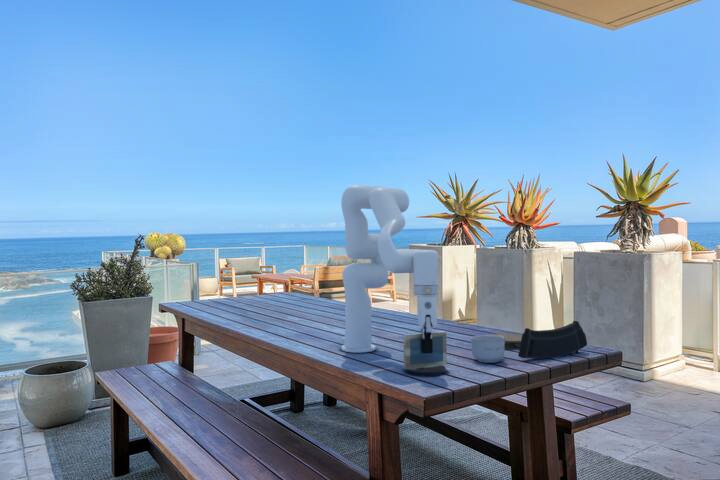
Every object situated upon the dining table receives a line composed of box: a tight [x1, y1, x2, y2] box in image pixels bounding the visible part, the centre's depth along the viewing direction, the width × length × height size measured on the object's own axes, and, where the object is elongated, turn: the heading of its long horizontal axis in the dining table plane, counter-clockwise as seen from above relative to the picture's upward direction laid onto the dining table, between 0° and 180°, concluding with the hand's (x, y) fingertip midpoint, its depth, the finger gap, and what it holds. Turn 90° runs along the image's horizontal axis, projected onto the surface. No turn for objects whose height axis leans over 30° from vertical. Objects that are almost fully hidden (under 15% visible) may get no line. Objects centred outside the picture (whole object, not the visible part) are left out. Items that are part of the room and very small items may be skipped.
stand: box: [405, 365, 447, 377], centre depth 151 cm, size 12×12×1 cm
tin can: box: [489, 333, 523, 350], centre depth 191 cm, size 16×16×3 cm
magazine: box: [517, 320, 588, 360], centre depth 170 cm, size 17×3×30 cm
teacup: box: [470, 334, 506, 364], centre depth 165 cm, size 14×11×8 cm
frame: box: [403, 330, 448, 370], centre depth 152 cm, size 5×14×10 cm, turn 113°
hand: (426, 351), depth 151 cm, fingers closed on frame, 3 cm apart
